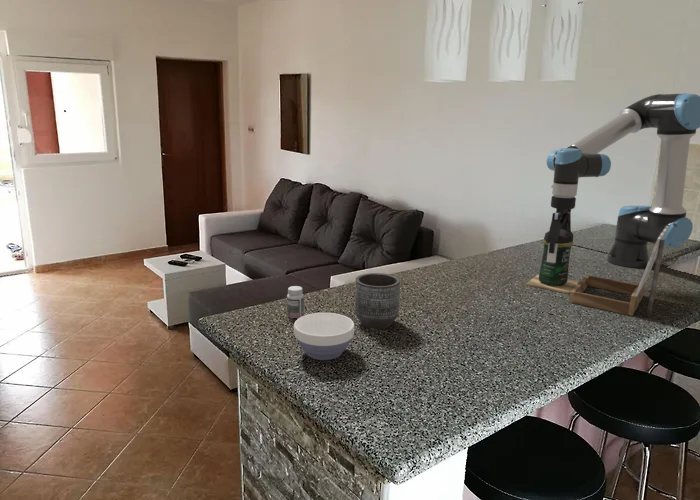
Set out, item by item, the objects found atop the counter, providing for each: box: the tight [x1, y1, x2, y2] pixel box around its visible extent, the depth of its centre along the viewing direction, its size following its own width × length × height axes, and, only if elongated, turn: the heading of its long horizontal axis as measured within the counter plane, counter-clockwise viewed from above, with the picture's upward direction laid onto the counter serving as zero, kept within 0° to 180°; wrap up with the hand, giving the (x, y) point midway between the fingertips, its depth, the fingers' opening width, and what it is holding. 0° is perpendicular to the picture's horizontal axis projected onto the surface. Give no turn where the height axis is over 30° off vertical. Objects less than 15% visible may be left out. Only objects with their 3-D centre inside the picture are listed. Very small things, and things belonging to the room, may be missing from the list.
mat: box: [525, 273, 580, 295], centre depth 179 cm, size 14×14×1 cm
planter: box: [354, 272, 401, 330], centre depth 141 cm, size 12×12×13 cm
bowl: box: [293, 312, 356, 361], centre depth 124 cm, size 14×14×8 cm
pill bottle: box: [286, 285, 305, 319], centre depth 146 cm, size 5×5×8 cm
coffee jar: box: [538, 229, 574, 286], centre depth 176 cm, size 10×8×19 cm
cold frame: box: [568, 226, 668, 317], centre depth 161 cm, size 22×22×24 cm
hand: (556, 257), depth 177 cm, fingers open, 13 cm apart
